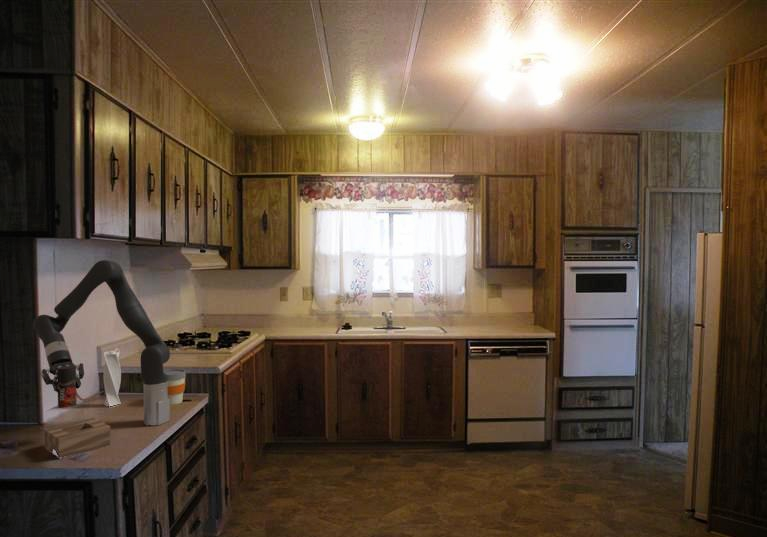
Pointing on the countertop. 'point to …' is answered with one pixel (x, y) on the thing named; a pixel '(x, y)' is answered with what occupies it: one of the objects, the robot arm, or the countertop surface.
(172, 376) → the reusable coffee cup
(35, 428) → the countertop surface
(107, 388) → the skyscraper
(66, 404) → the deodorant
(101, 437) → the socket block
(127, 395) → the countertop surface
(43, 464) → the countertop surface
